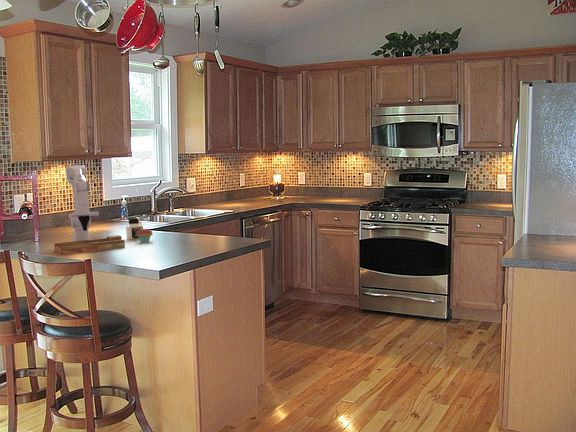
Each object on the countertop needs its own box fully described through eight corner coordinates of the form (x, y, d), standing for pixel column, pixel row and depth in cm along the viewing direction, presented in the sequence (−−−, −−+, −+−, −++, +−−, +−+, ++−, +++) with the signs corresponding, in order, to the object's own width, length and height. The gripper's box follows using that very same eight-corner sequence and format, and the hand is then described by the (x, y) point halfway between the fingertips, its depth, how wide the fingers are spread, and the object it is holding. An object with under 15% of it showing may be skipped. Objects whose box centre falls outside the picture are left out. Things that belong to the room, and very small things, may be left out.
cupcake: (137, 243, 342) (135, 221, 341) (136, 241, 350) (135, 219, 349) (153, 242, 344) (152, 220, 343) (152, 240, 353) (151, 218, 351)
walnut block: (107, 241, 334) (106, 236, 334) (118, 240, 337) (117, 234, 337) (110, 243, 329) (110, 237, 329) (121, 241, 332) (121, 236, 332)
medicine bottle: (132, 239, 356) (130, 218, 354) (126, 238, 361) (125, 217, 360) (143, 238, 360) (142, 217, 359) (138, 237, 366) (136, 216, 364)
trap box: (54, 251, 324) (54, 243, 324) (116, 244, 341) (116, 236, 341) (61, 254, 312) (60, 246, 312) (124, 247, 329) (124, 239, 329)
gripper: (70, 206, 320) (72, 232, 321) (99, 203, 327) (101, 229, 329) (67, 205, 326) (69, 231, 327) (95, 203, 333) (97, 228, 335)
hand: (84, 230), depth 329 cm, fingers closed
